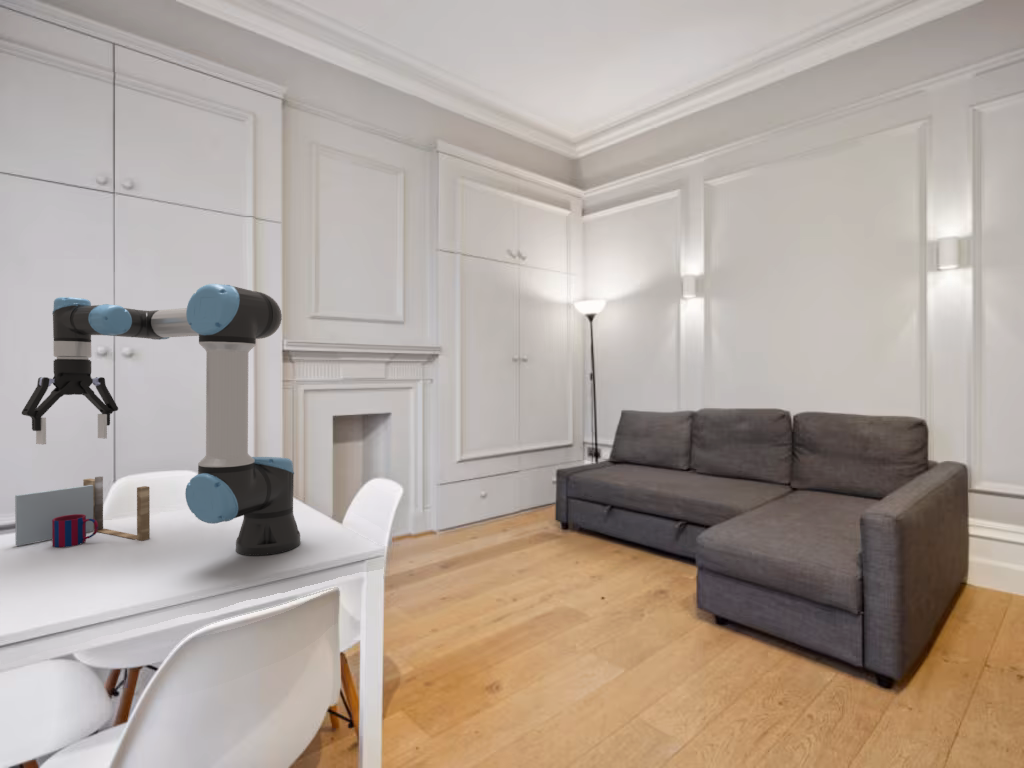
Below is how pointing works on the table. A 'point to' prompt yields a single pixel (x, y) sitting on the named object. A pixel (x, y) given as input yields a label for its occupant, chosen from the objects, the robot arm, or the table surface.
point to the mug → (70, 530)
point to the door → (49, 511)
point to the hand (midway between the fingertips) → (73, 441)
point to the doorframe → (142, 510)
